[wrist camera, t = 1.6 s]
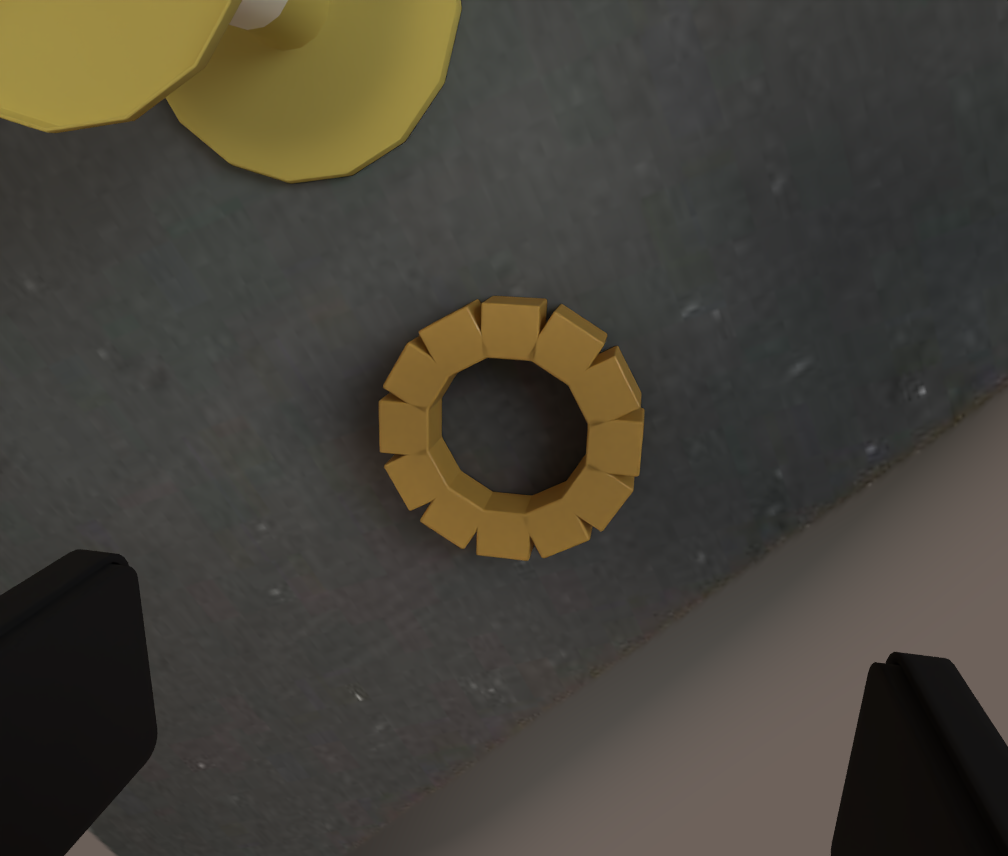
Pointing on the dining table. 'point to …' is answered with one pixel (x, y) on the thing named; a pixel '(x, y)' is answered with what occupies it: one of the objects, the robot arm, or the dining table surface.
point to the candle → (234, 73)
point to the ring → (462, 500)
